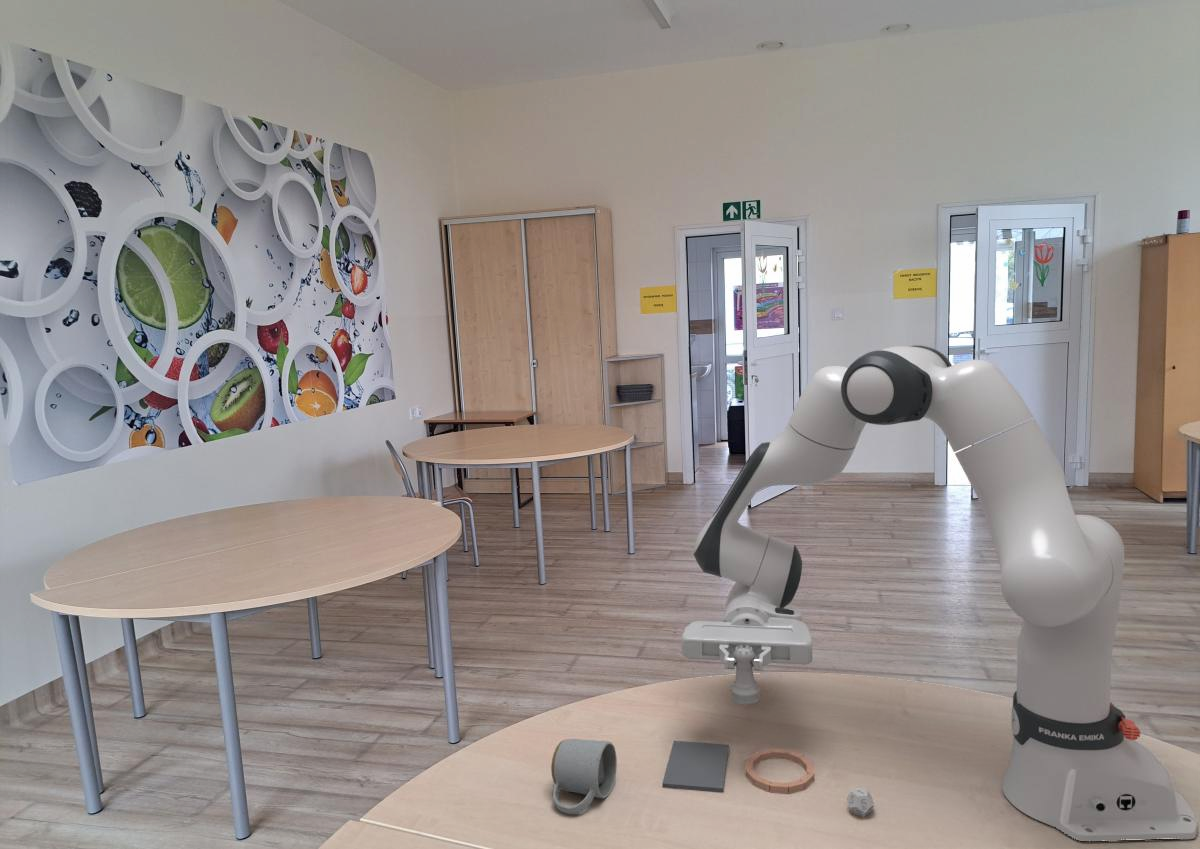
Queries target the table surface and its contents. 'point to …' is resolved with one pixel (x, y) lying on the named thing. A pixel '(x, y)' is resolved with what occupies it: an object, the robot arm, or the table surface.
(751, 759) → the terracotta ring
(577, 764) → the ceramic mug
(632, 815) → the table surface
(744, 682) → the rook chess piece
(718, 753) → the charcoal mat
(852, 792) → the game die
